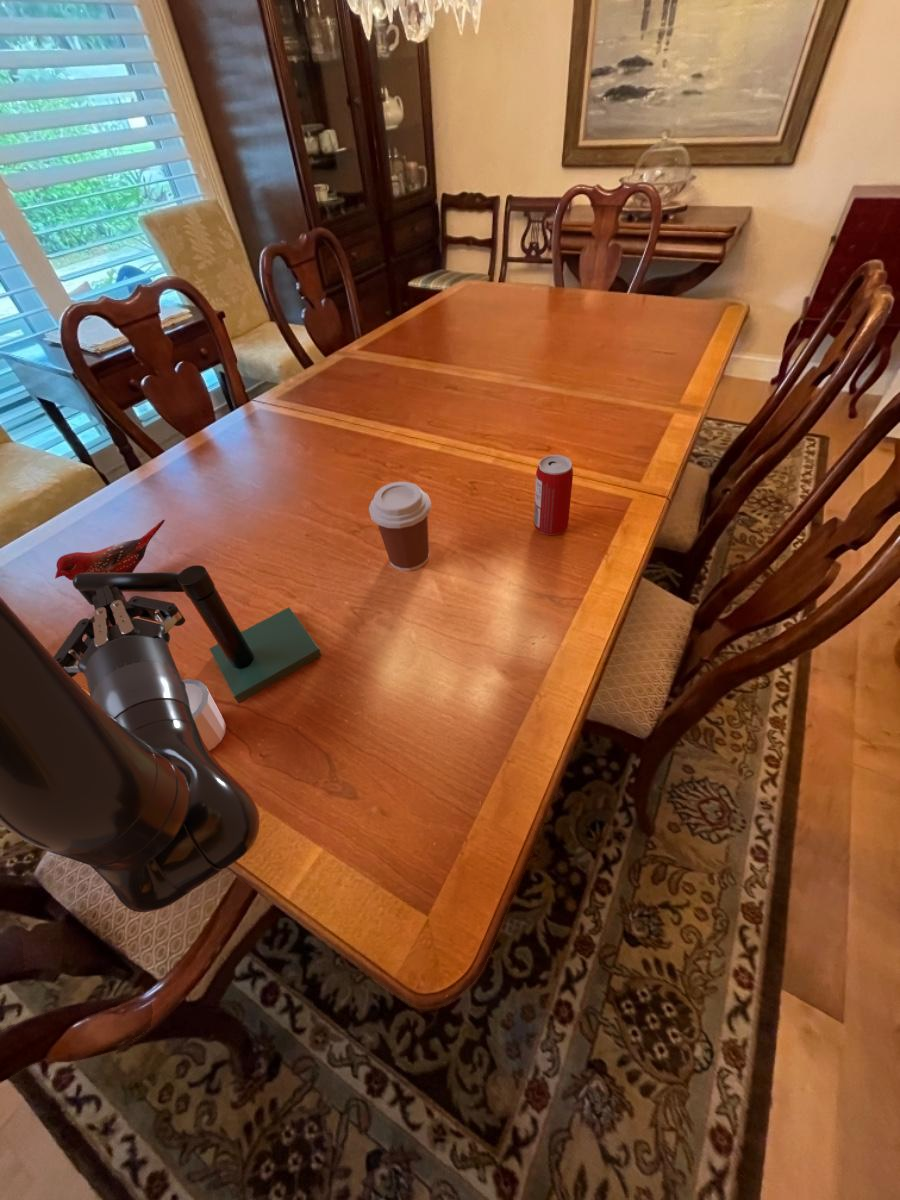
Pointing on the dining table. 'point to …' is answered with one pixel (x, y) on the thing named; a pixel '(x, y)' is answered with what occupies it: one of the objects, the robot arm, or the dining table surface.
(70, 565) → the decorative bird figurine
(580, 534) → the dining table surface
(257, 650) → the faucet
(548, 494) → the soda can
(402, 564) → the coffee cup
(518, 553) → the dining table surface
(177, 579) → the spout
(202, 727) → the shot glass
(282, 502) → the dining table surface
